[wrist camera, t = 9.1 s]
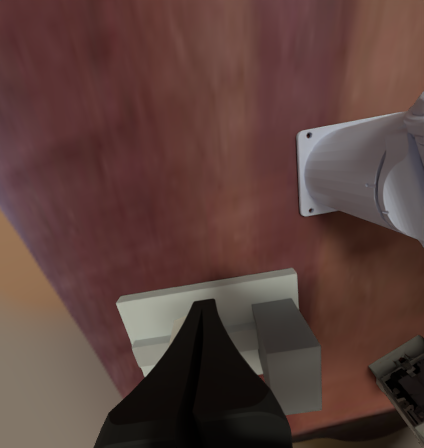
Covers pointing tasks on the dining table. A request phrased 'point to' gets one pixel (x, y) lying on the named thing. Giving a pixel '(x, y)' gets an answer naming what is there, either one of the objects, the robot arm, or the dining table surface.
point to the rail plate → (239, 330)
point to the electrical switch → (404, 383)
